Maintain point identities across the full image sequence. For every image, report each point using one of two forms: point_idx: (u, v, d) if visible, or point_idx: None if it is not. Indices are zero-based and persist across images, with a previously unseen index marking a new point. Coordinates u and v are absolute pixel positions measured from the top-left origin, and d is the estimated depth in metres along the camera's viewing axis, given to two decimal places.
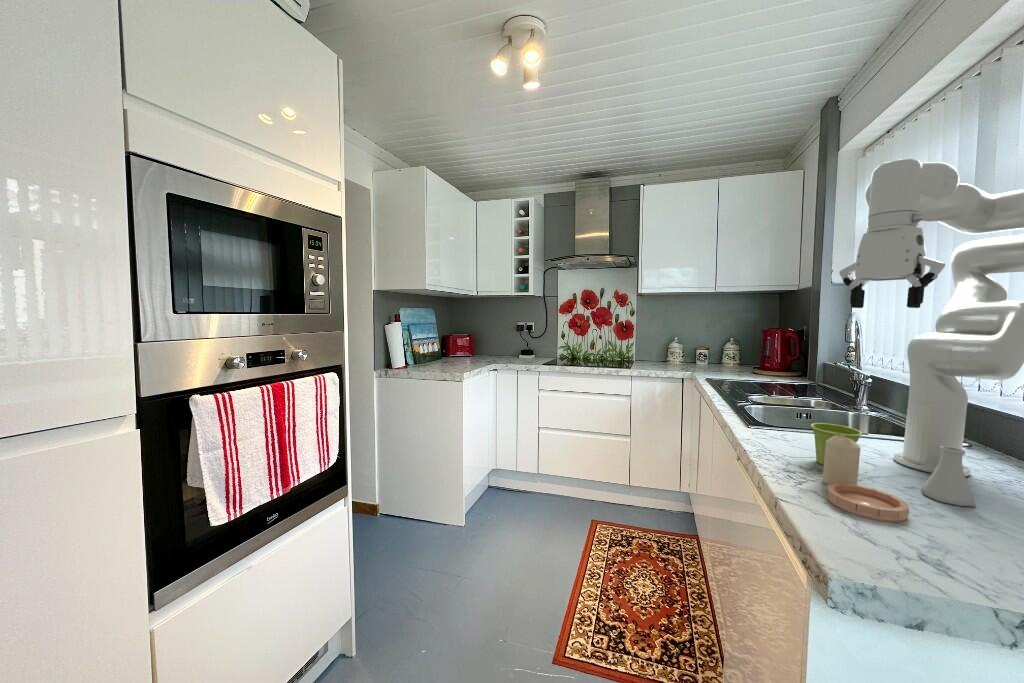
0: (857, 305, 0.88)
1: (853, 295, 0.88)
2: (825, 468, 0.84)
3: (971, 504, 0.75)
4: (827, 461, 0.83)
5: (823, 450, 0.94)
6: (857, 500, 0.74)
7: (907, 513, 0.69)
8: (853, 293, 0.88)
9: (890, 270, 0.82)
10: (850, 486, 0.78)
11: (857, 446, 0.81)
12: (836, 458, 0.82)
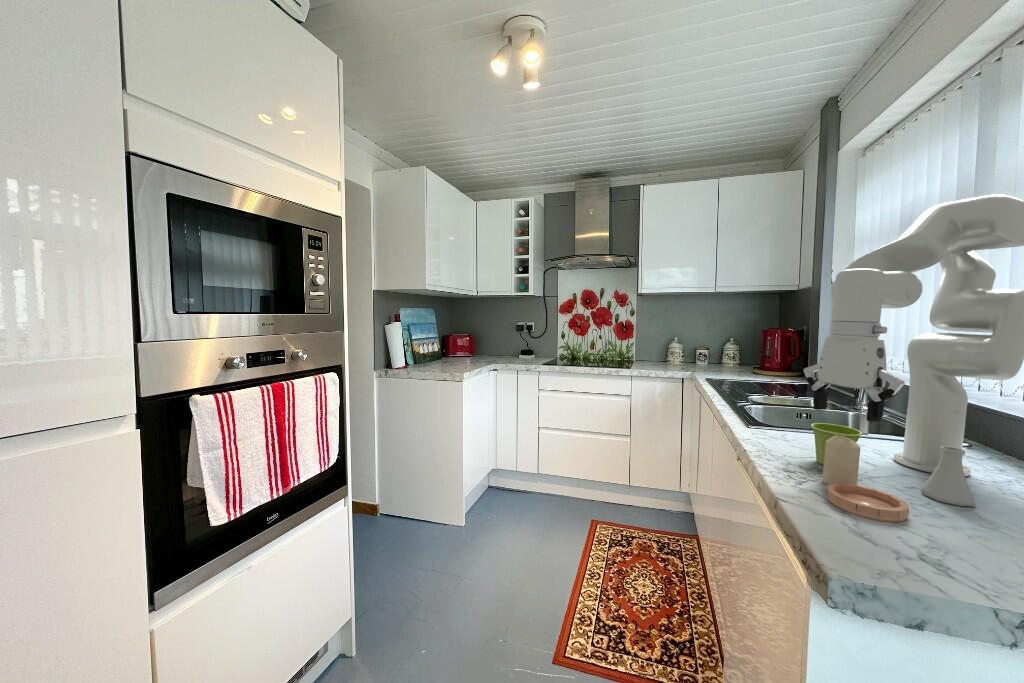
0: (820, 407, 0.86)
1: (816, 397, 0.86)
2: (825, 468, 0.84)
3: (971, 504, 0.75)
4: (827, 461, 0.83)
5: (823, 450, 0.94)
6: (857, 500, 0.74)
7: (907, 513, 0.69)
8: (816, 395, 0.86)
9: (851, 380, 0.80)
10: (850, 486, 0.78)
11: (857, 446, 0.81)
12: (836, 458, 0.82)
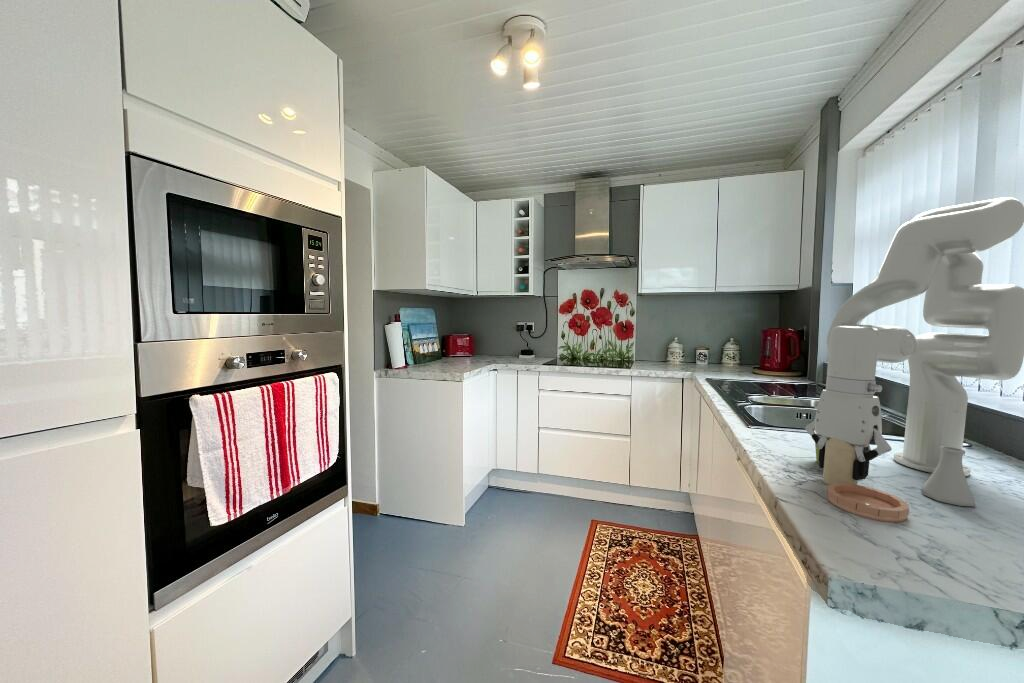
0: None
1: (821, 456, 0.86)
2: (825, 468, 0.84)
3: (971, 504, 0.75)
4: (828, 461, 0.83)
5: None
6: (857, 500, 0.74)
7: (907, 513, 0.69)
8: (821, 454, 0.86)
9: (847, 436, 0.81)
10: (850, 486, 0.78)
11: None
12: (836, 458, 0.82)
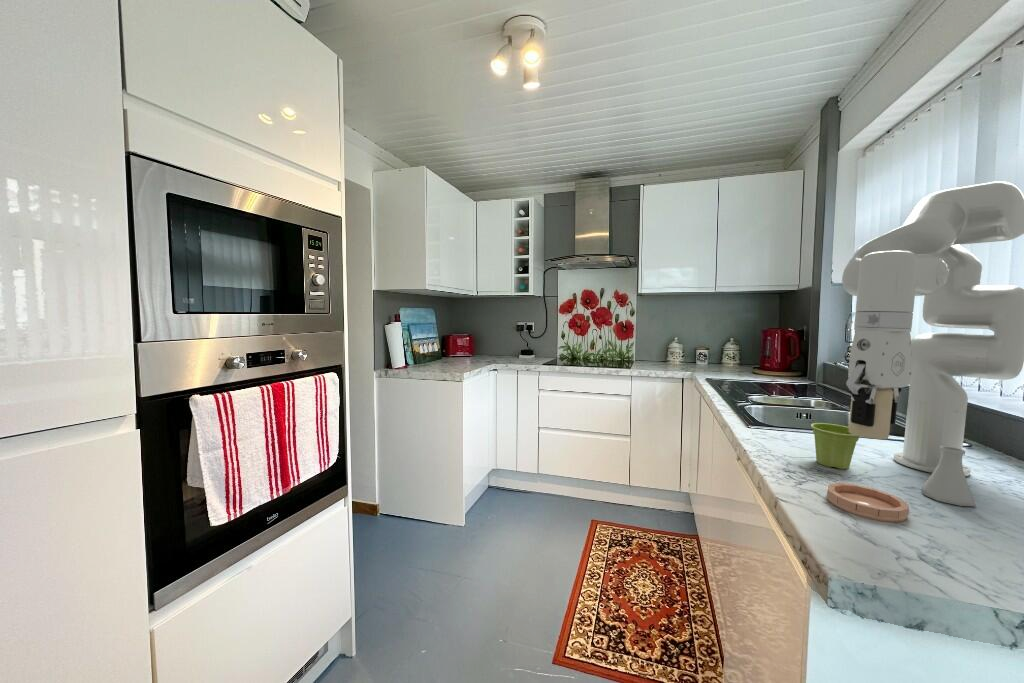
0: None
1: None
2: None
3: (971, 504, 0.75)
4: None
5: (823, 450, 0.94)
6: (857, 500, 0.74)
7: (907, 513, 0.69)
8: None
9: None
10: (850, 486, 0.78)
11: None
12: None
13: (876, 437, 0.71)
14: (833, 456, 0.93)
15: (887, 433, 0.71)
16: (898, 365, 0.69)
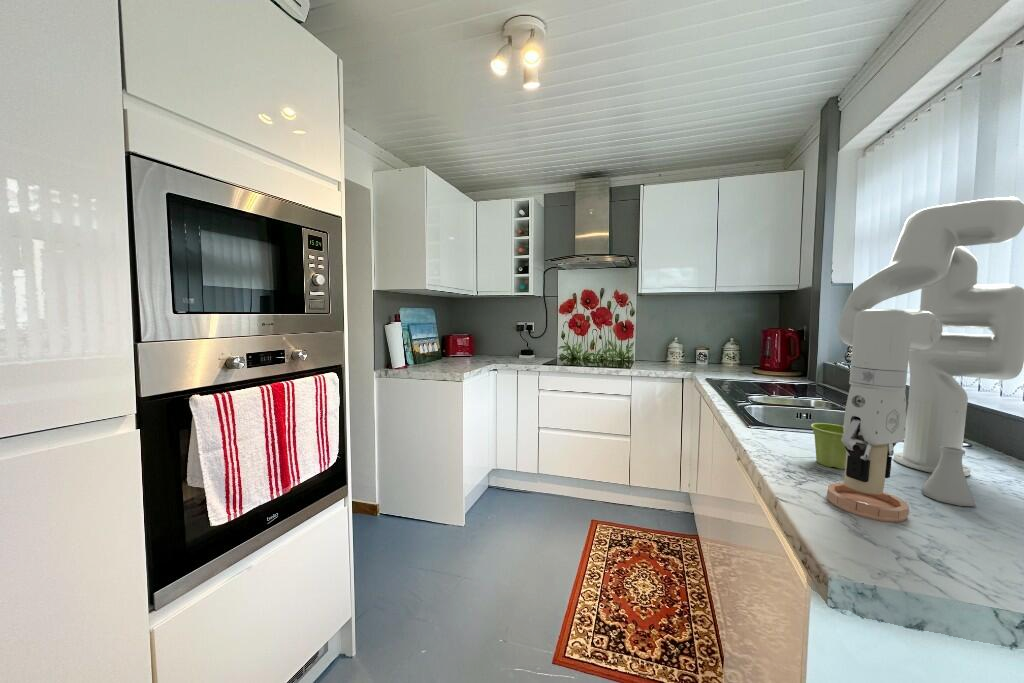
0: None
1: None
2: None
3: (971, 504, 0.75)
4: None
5: (823, 450, 0.94)
6: (857, 500, 0.74)
7: (907, 513, 0.69)
8: None
9: None
10: None
11: None
12: None
13: (871, 492, 0.71)
14: (833, 456, 0.93)
15: (882, 488, 0.72)
16: (892, 422, 0.70)
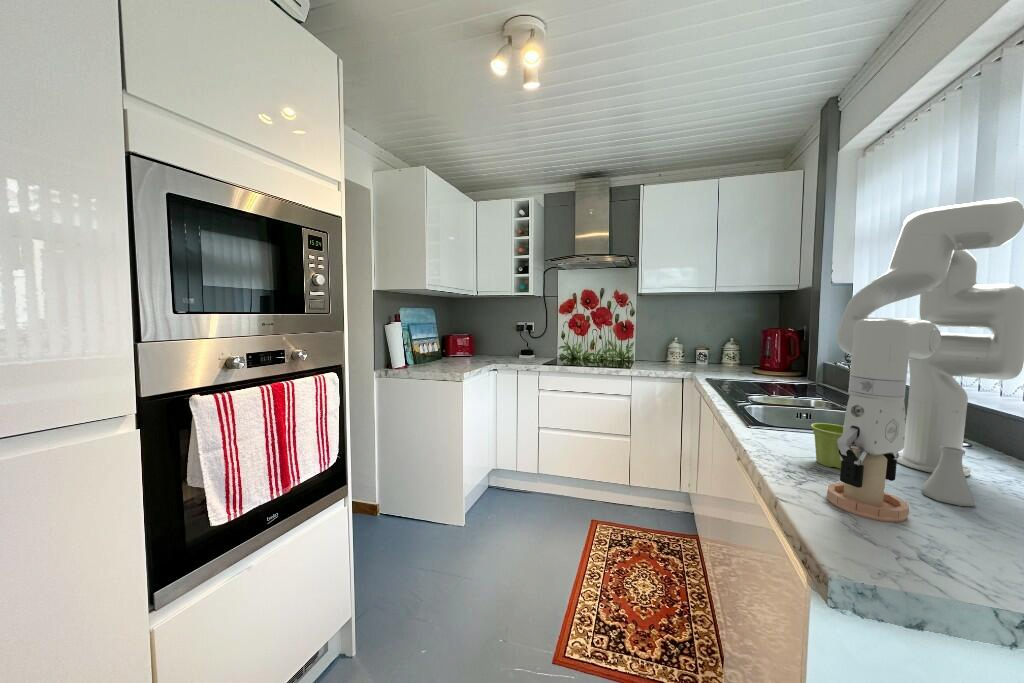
0: None
1: None
2: None
3: (971, 504, 0.75)
4: None
5: (823, 450, 0.94)
6: None
7: (907, 513, 0.69)
8: None
9: None
10: None
11: None
12: None
13: None
14: (833, 456, 0.92)
15: (881, 501, 0.72)
16: (892, 432, 0.70)
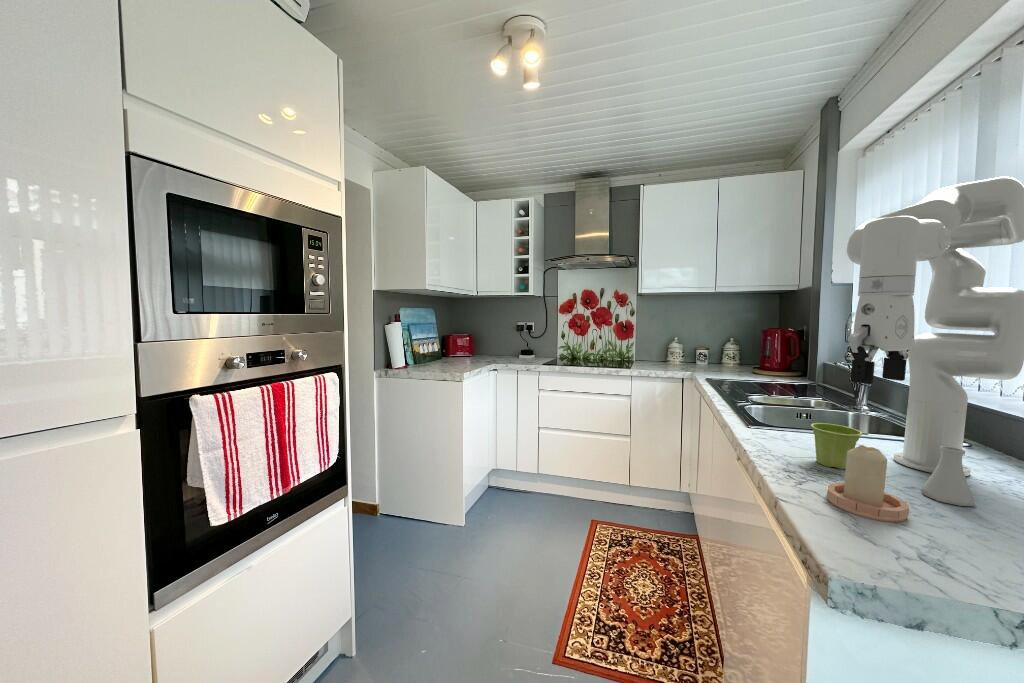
0: (887, 376, 0.77)
1: None
2: None
3: (971, 504, 0.75)
4: None
5: (823, 450, 0.94)
6: None
7: (907, 513, 0.69)
8: None
9: None
10: None
11: (860, 455, 0.73)
12: None
13: None
14: (833, 456, 0.92)
15: (881, 501, 0.72)
16: (901, 328, 0.71)
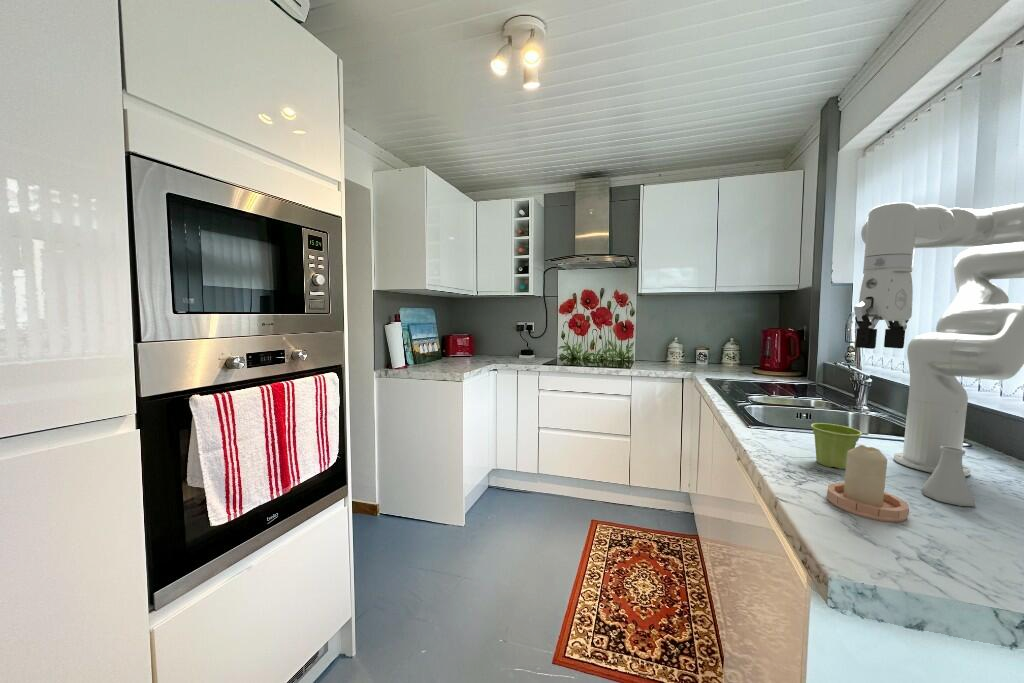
0: (888, 345, 0.87)
1: None
2: None
3: (971, 504, 0.75)
4: None
5: (823, 450, 0.94)
6: None
7: (907, 513, 0.69)
8: None
9: None
10: None
11: (860, 455, 0.73)
12: None
13: None
14: (833, 456, 0.93)
15: (881, 501, 0.72)
16: (901, 300, 0.82)
